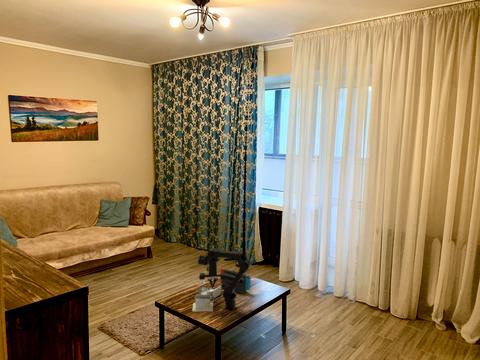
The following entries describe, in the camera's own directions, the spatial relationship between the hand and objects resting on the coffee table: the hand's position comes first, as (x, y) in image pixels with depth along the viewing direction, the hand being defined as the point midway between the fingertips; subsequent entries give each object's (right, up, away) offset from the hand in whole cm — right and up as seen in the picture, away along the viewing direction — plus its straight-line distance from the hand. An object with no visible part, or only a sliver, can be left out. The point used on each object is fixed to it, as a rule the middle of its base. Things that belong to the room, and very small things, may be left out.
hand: (212, 287), depth 252 cm
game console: (+15, -10, +26) cm, 32 cm away
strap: (-7, -6, -3) cm, 9 cm away
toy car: (-4, -11, +19) cm, 22 cm away
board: (-7, -13, -2) cm, 15 cm away
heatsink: (-7, -13, -2) cm, 15 cm away
